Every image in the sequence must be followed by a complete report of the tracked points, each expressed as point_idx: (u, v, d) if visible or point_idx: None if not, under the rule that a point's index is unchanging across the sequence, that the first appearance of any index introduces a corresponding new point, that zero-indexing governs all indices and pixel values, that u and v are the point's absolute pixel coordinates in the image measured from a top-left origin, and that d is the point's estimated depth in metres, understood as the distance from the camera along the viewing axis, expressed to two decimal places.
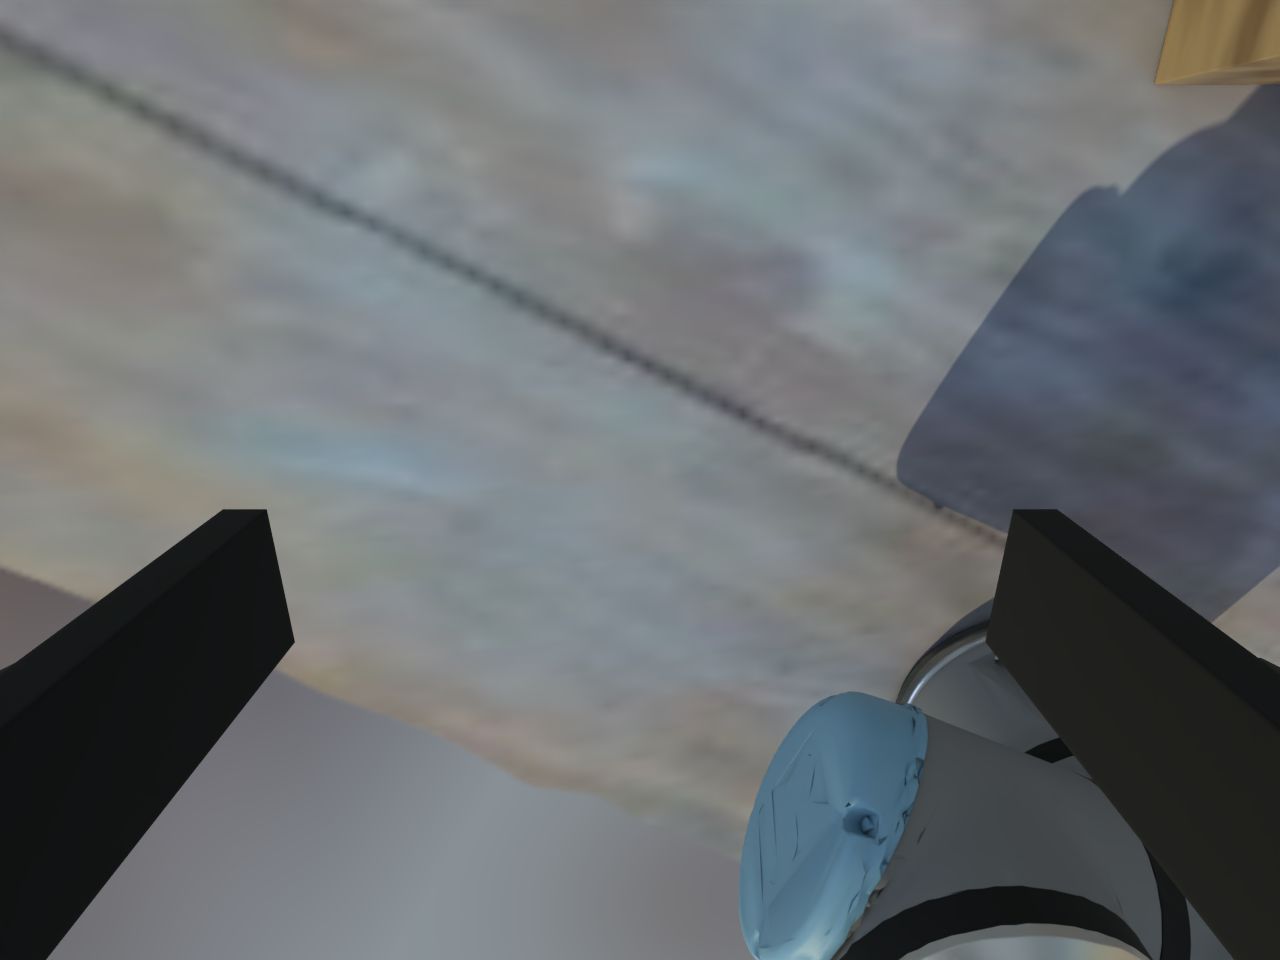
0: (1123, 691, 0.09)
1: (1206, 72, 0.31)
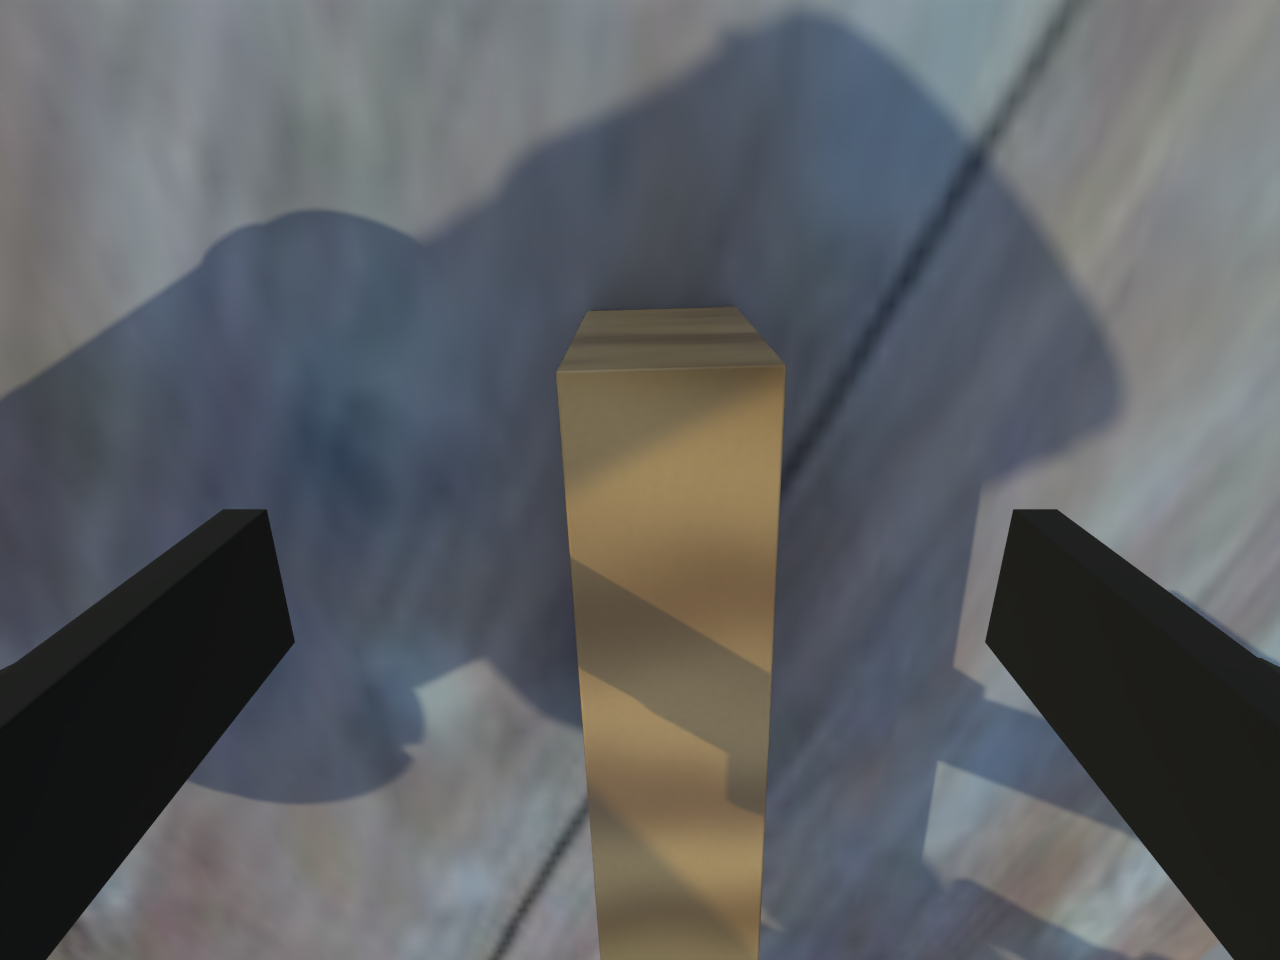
0: (1123, 691, 0.09)
1: (578, 330, 0.21)
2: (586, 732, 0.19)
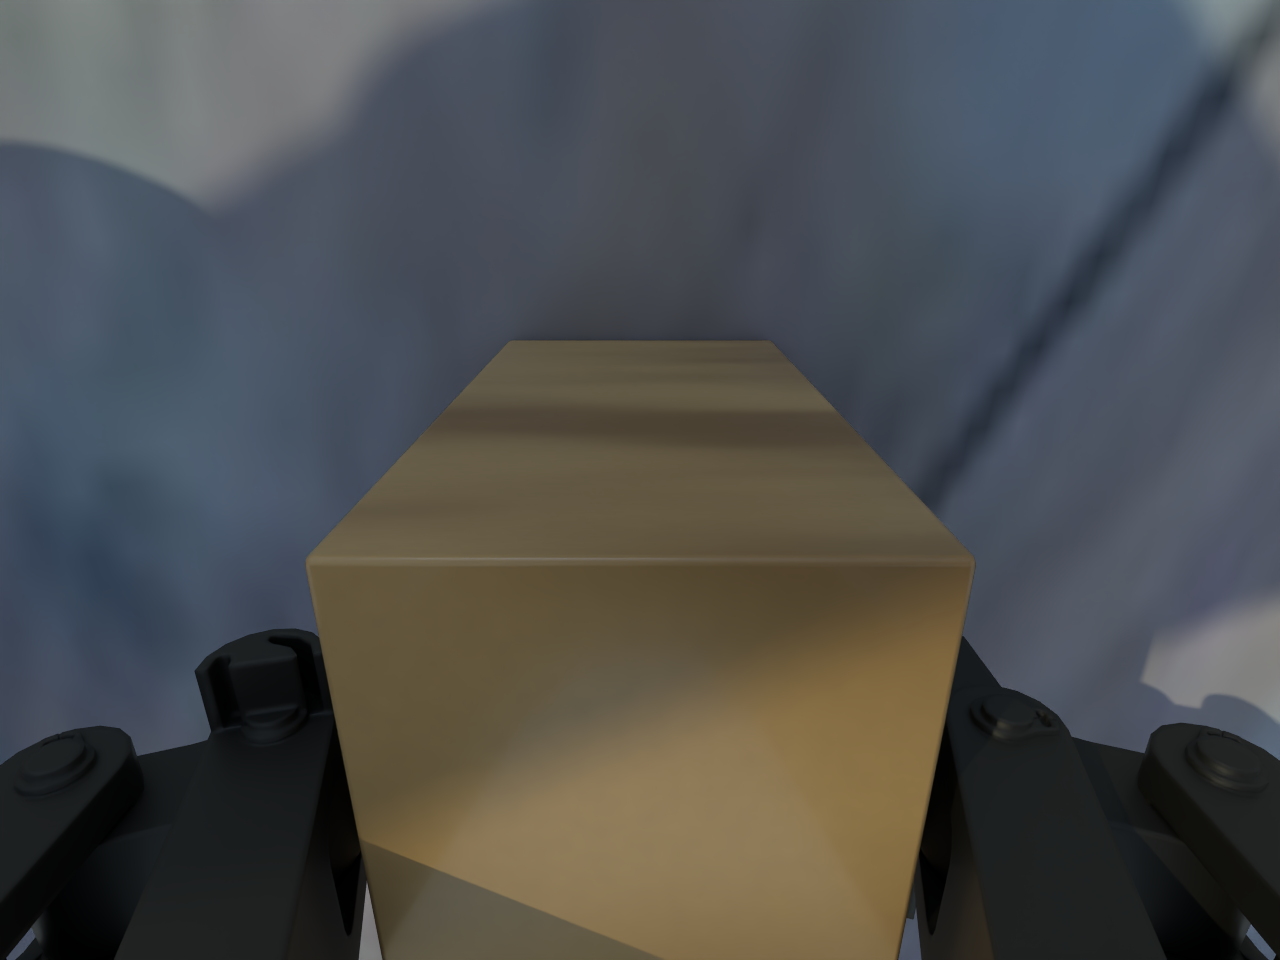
0: None
1: None
2: None
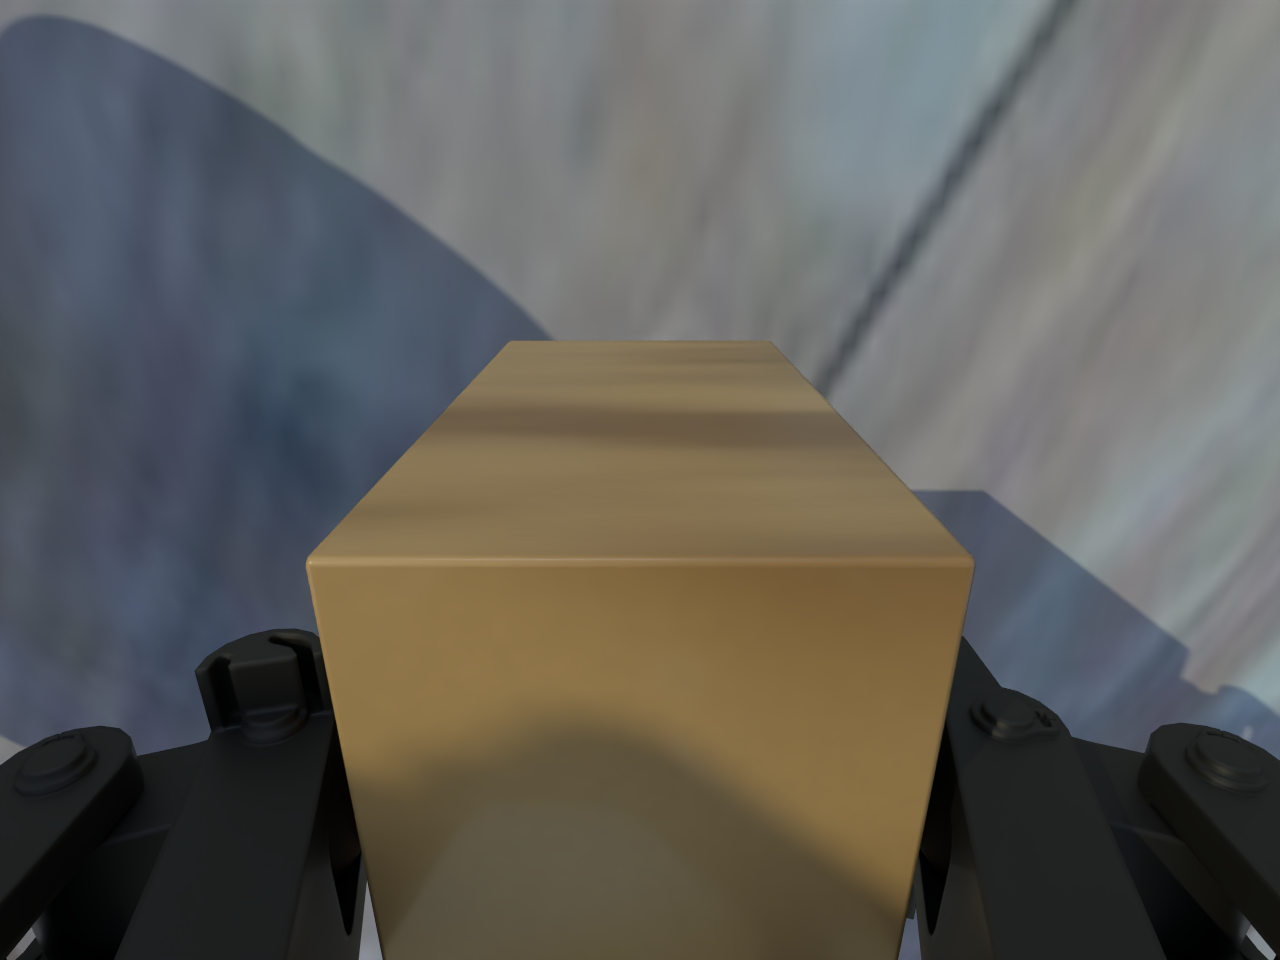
0: None
1: None
2: None
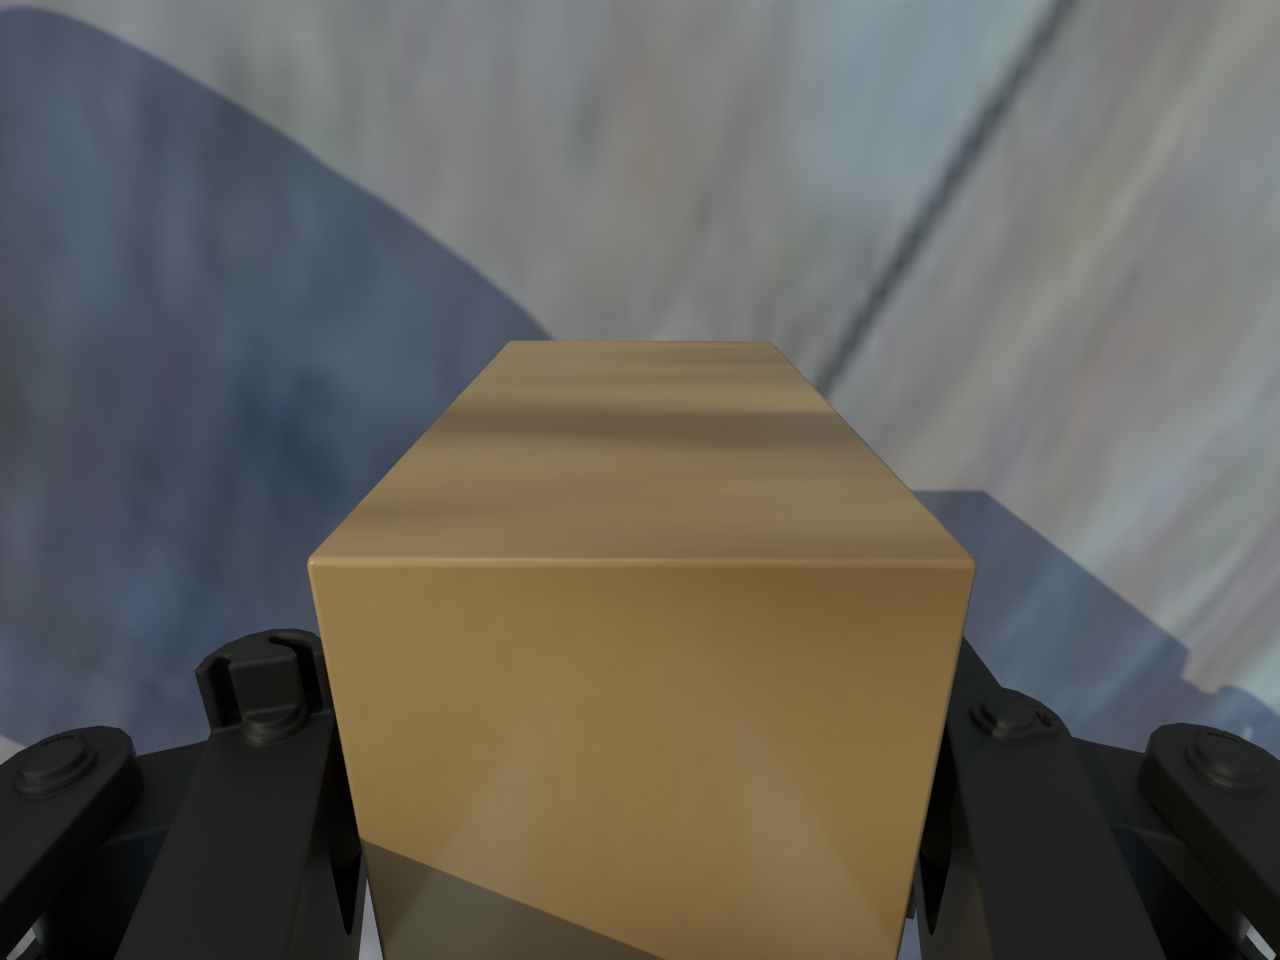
0: None
1: None
2: None
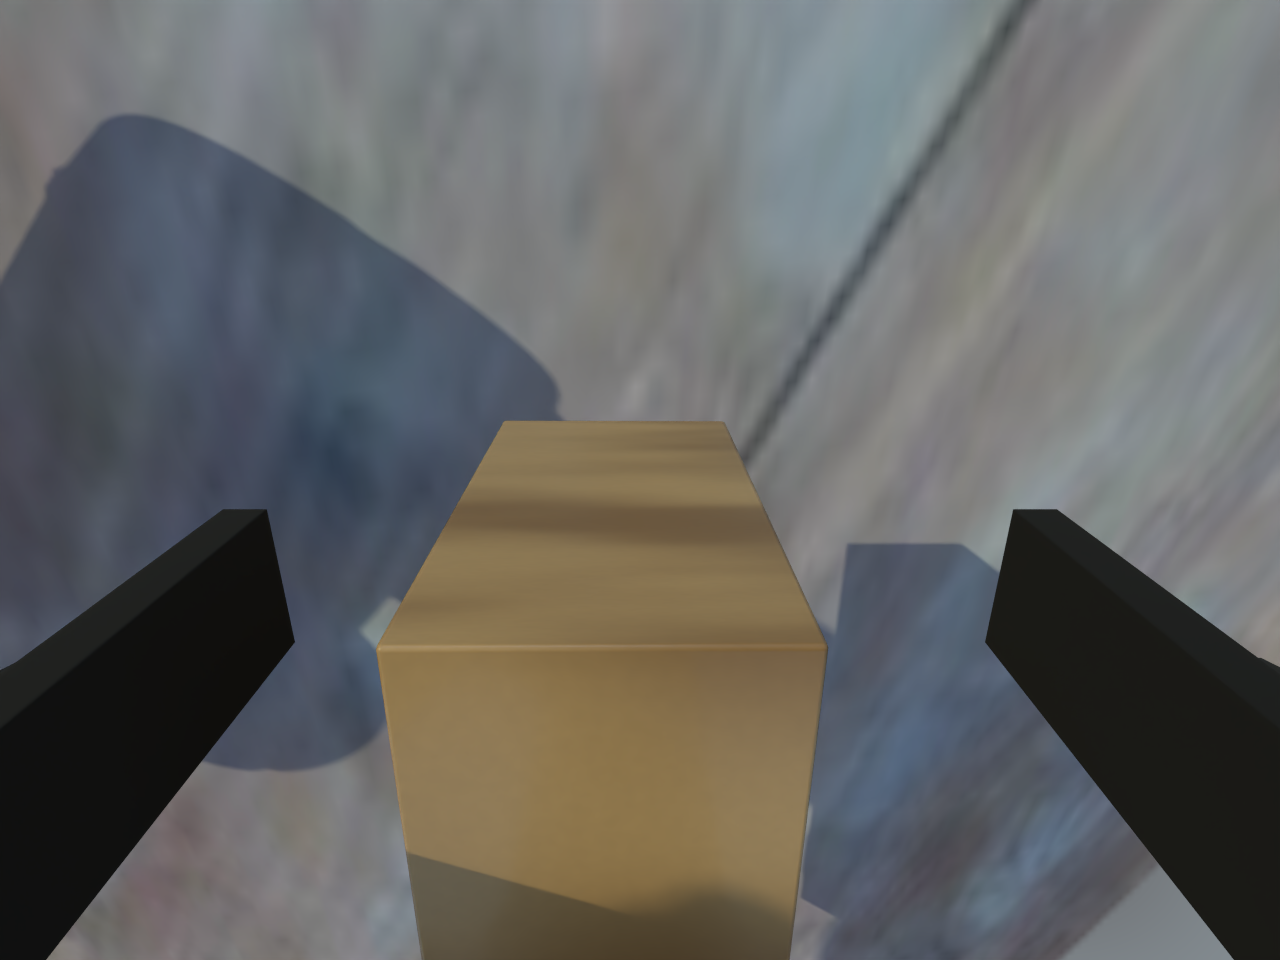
0: (1123, 691, 0.09)
1: (475, 474, 0.13)
2: None
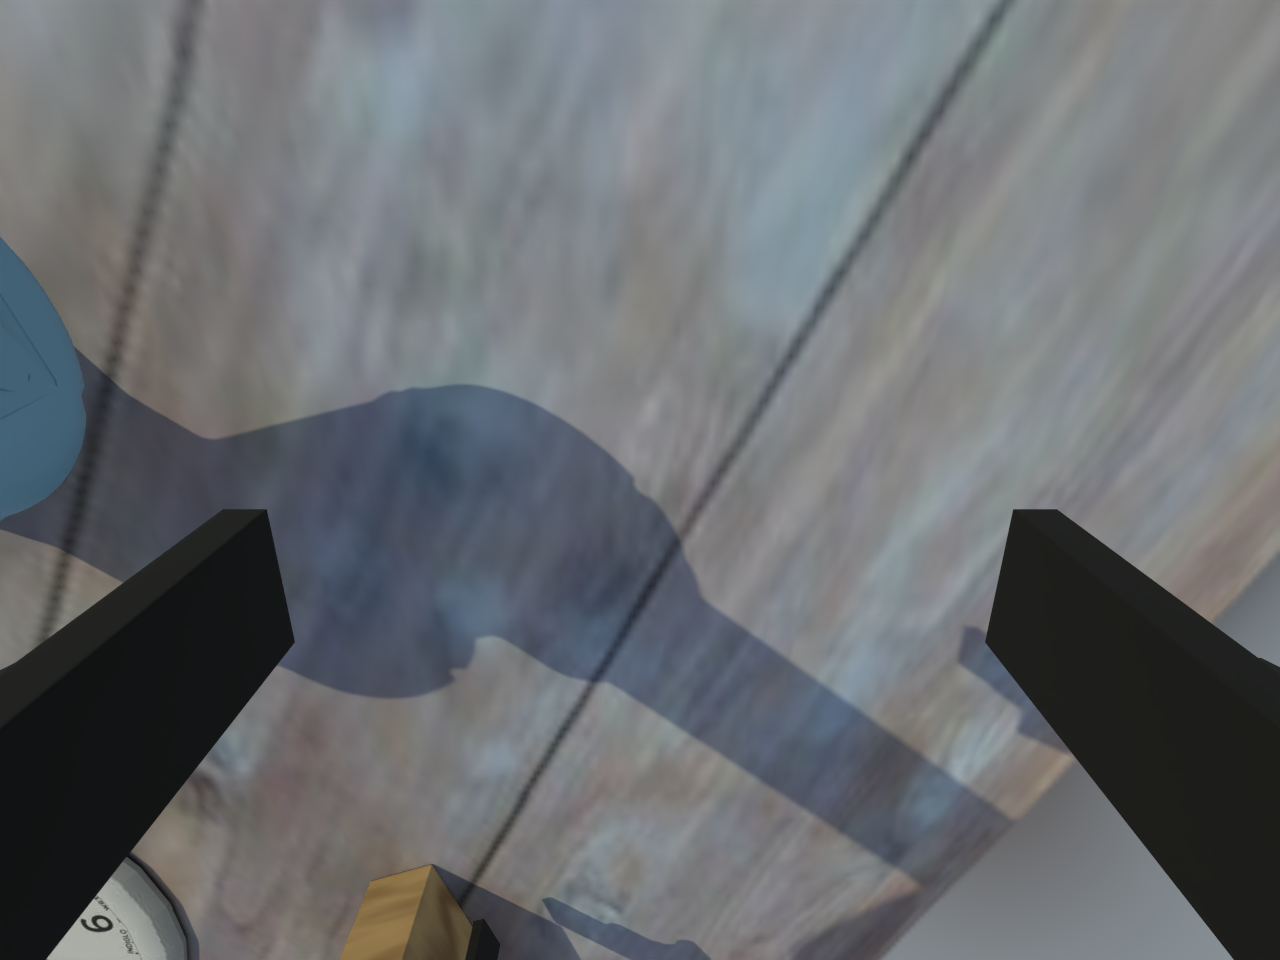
0: (1123, 691, 0.09)
1: None
2: None
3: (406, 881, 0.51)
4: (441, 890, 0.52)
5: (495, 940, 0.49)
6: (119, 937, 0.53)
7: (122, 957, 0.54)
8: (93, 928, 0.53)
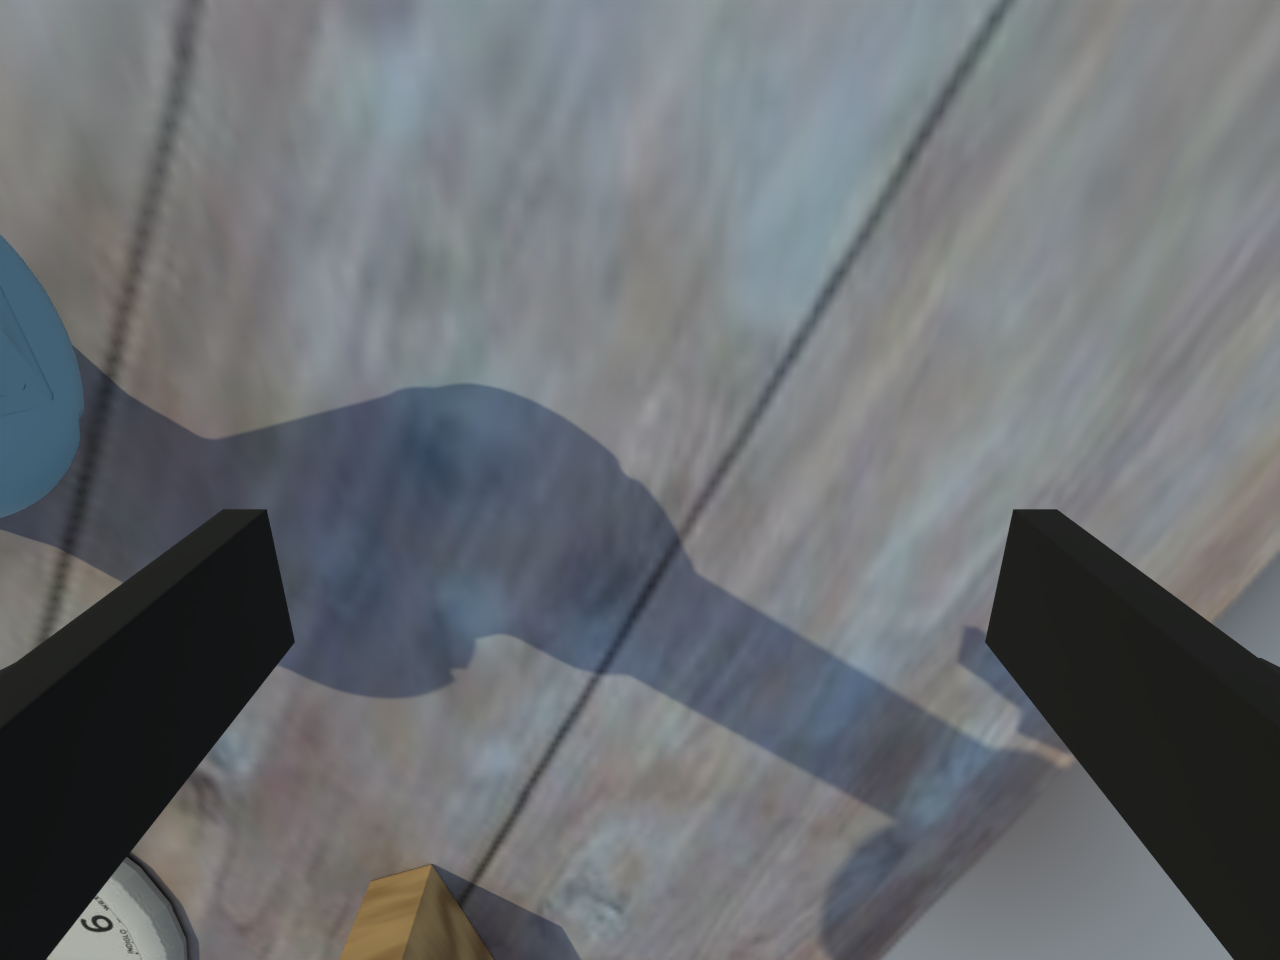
0: (1123, 691, 0.09)
1: None
2: None
3: (406, 881, 0.51)
4: (441, 890, 0.52)
5: None
6: (119, 937, 0.53)
7: (122, 957, 0.54)
8: (93, 928, 0.53)
